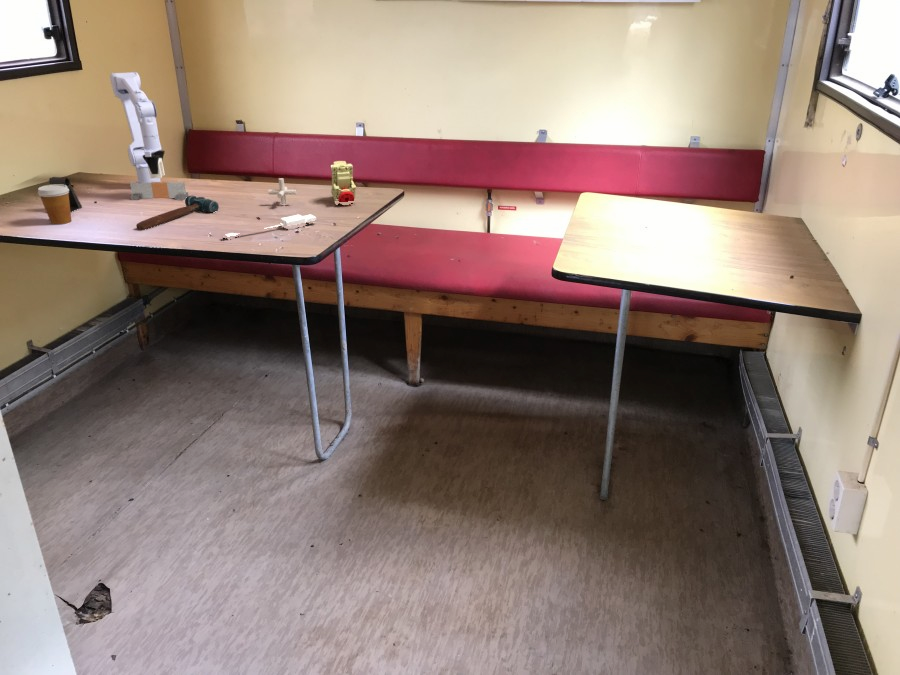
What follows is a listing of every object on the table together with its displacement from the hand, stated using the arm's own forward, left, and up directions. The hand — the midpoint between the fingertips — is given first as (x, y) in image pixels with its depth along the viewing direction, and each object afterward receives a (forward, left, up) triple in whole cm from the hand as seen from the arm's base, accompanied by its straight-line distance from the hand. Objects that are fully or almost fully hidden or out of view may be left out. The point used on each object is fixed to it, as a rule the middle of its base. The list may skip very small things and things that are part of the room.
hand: (157, 172), depth 260 cm
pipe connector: (+10, +49, -10) cm, 51 cm away
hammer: (+27, +15, -11) cm, 33 cm away
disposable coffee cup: (+32, -23, -10) cm, 40 cm away
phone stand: (+18, -28, -10) cm, 35 cm away
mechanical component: (+7, +72, -10) cm, 73 cm away
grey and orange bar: (0, -1, -10) cm, 10 cm away
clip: (0, 0, -2) cm, 2 cm away
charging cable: (+41, +52, -10) cm, 67 cm away
